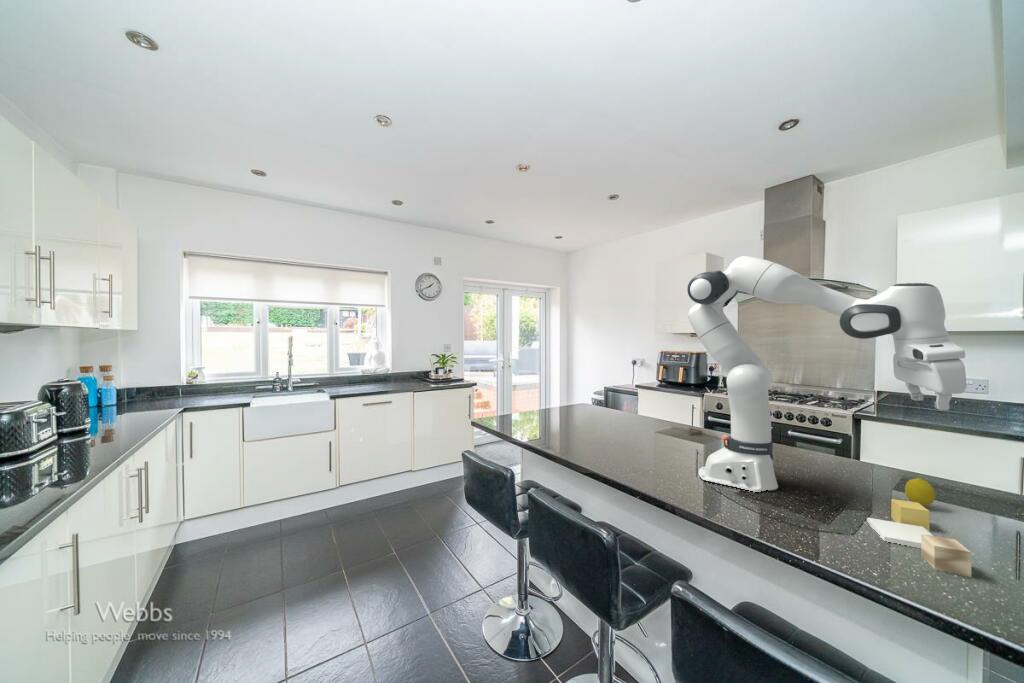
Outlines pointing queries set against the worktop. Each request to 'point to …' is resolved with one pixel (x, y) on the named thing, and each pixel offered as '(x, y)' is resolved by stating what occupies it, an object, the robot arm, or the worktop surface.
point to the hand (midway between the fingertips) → (929, 404)
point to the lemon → (920, 492)
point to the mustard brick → (910, 513)
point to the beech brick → (946, 555)
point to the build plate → (898, 532)
